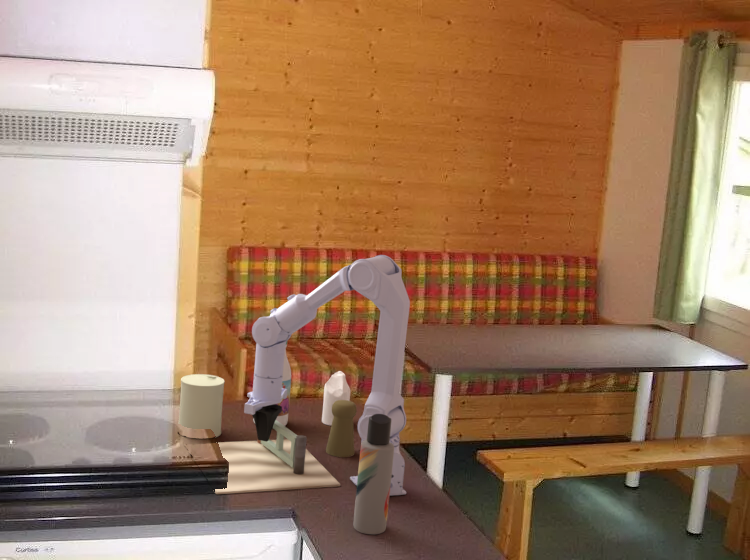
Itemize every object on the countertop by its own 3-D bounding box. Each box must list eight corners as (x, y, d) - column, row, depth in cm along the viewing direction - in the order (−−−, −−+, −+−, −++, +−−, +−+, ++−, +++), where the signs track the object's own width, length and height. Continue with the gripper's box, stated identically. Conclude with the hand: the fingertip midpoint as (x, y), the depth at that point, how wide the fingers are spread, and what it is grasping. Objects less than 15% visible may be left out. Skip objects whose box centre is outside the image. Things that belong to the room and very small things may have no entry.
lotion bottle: (385, 522, 175) (396, 412, 172) (386, 536, 169) (398, 422, 166) (352, 520, 175) (363, 410, 172) (353, 533, 169) (364, 420, 166)
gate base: (340, 486, 190) (343, 447, 189) (216, 494, 180) (219, 454, 179) (296, 440, 213) (299, 406, 212) (184, 445, 204) (186, 409, 202)
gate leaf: (298, 467, 195) (300, 437, 194) (292, 467, 195) (295, 438, 194) (265, 442, 208) (268, 414, 207) (260, 442, 207) (262, 414, 206)
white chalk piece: (326, 373, 224) (325, 367, 229) (321, 425, 226) (321, 417, 231) (352, 375, 224) (351, 369, 230) (348, 427, 226) (347, 419, 232)
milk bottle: (249, 417, 226) (256, 331, 223) (283, 417, 228) (290, 332, 225) (256, 429, 219) (263, 339, 215) (290, 428, 221) (298, 340, 218)
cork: (356, 449, 212) (361, 399, 210) (352, 458, 206) (357, 407, 204) (327, 445, 212) (332, 395, 210) (323, 455, 206) (328, 403, 205)
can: (229, 432, 215) (233, 377, 213) (203, 442, 207) (207, 386, 205) (195, 422, 219) (198, 369, 217) (168, 432, 211) (171, 377, 209)
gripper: (267, 364, 207) (262, 427, 210) (232, 378, 194) (227, 445, 196) (298, 370, 205) (292, 433, 207) (264, 385, 191) (259, 453, 194)
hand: (263, 440), depth 201 cm, fingers closed
